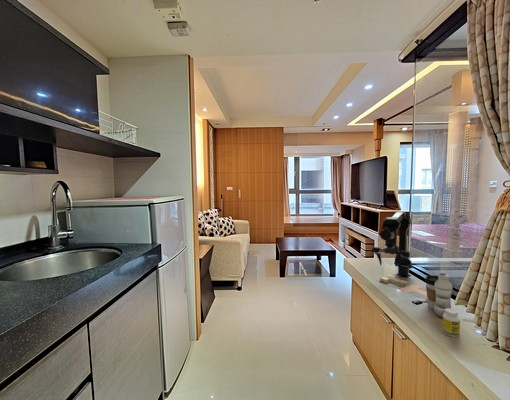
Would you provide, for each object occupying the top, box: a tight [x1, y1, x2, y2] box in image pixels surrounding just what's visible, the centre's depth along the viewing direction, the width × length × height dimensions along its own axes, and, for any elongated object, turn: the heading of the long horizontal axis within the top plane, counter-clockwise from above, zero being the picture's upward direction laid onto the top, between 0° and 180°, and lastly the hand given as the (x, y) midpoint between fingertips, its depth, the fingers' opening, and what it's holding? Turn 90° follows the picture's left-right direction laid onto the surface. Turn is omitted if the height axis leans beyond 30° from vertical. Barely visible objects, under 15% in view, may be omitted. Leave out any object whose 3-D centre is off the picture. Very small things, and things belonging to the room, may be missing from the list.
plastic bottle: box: [433, 272, 453, 319], centre depth 107 cm, size 6×7×20 cm
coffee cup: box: [424, 275, 439, 310], centre depth 115 cm, size 8×8×15 cm
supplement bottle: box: [442, 308, 461, 338], centre depth 96 cm, size 5×5×10 cm
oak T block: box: [379, 273, 408, 286], centre depth 144 cm, size 12×12×2 cm
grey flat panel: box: [376, 278, 428, 302], centre depth 138 cm, size 14×30×1 cm, turn 26°
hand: (389, 266), depth 134 cm, fingers open, 9 cm apart
